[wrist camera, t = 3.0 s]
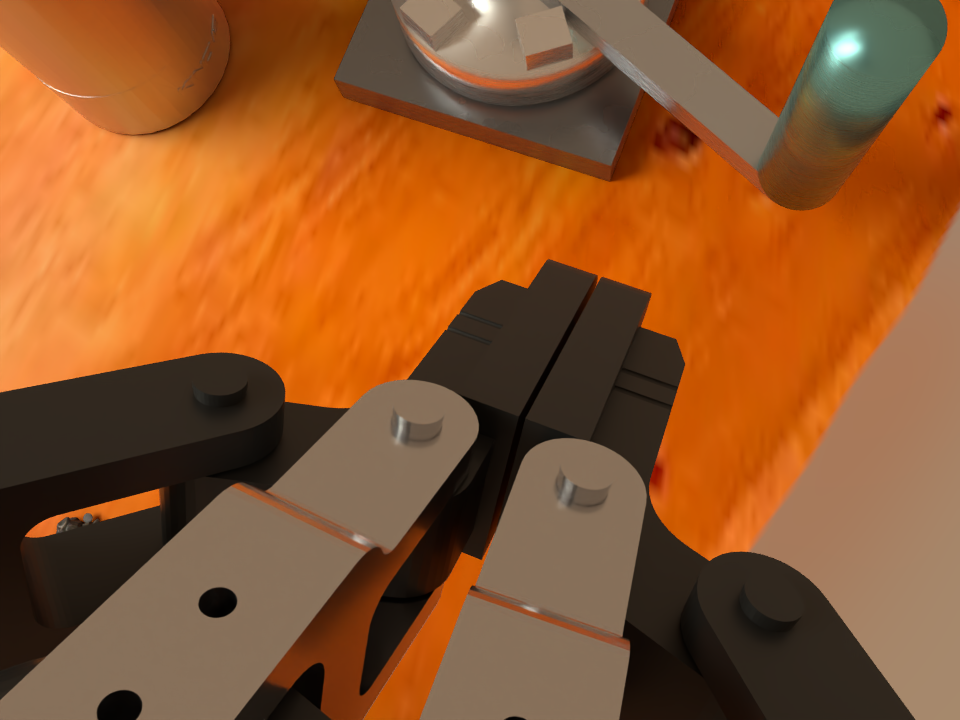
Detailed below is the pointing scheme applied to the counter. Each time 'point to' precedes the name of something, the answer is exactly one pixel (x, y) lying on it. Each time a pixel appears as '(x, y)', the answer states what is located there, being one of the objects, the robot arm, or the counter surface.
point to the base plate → (524, 129)
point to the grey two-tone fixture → (693, 76)
